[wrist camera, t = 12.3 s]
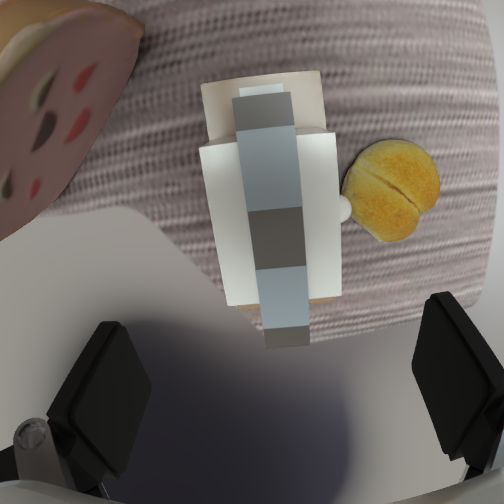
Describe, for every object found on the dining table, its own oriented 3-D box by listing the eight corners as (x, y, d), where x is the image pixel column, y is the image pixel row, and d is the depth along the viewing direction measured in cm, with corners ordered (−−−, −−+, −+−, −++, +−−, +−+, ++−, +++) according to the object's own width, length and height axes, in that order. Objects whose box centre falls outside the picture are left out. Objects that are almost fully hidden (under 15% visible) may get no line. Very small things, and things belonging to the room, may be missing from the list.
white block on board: (205, 86, 24) (179, 76, 16) (325, 72, 23) (348, 58, 15) (240, 298, 32) (231, 352, 25) (339, 289, 31) (356, 341, 24)
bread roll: (444, 176, 26) (466, 187, 22) (387, 246, 29) (401, 266, 25) (384, 116, 24) (402, 118, 20) (322, 194, 27) (330, 208, 24)
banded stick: (241, 101, 21) (231, 98, 15) (285, 96, 20) (290, 91, 15) (267, 301, 27) (266, 349, 22) (303, 298, 27) (310, 345, 21)
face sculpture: (64, 214, 29) (-49, 298, 14) (23, 178, 28) (-94, 239, 12) (170, 39, 22) (54, -25, 7) (115, 7, 20) (-11, -46, 5)
